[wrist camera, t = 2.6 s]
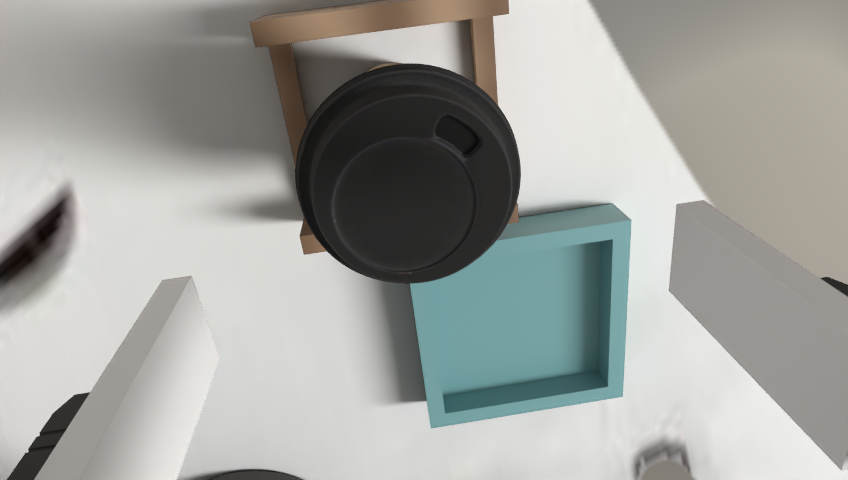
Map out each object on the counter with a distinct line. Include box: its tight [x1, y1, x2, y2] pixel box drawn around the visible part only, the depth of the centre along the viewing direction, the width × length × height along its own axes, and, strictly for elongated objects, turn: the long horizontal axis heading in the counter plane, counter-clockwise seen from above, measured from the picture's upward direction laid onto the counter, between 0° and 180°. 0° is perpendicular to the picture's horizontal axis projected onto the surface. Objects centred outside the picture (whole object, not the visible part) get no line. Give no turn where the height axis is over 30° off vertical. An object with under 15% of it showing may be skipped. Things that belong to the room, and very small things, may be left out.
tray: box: [410, 204, 631, 428], centre depth 41 cm, size 15×15×3 cm
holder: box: [250, 0, 519, 255], centre depth 33 cm, size 13×13×5 cm
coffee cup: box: [295, 63, 521, 284], centre depth 29 cm, size 9×9×15 cm
